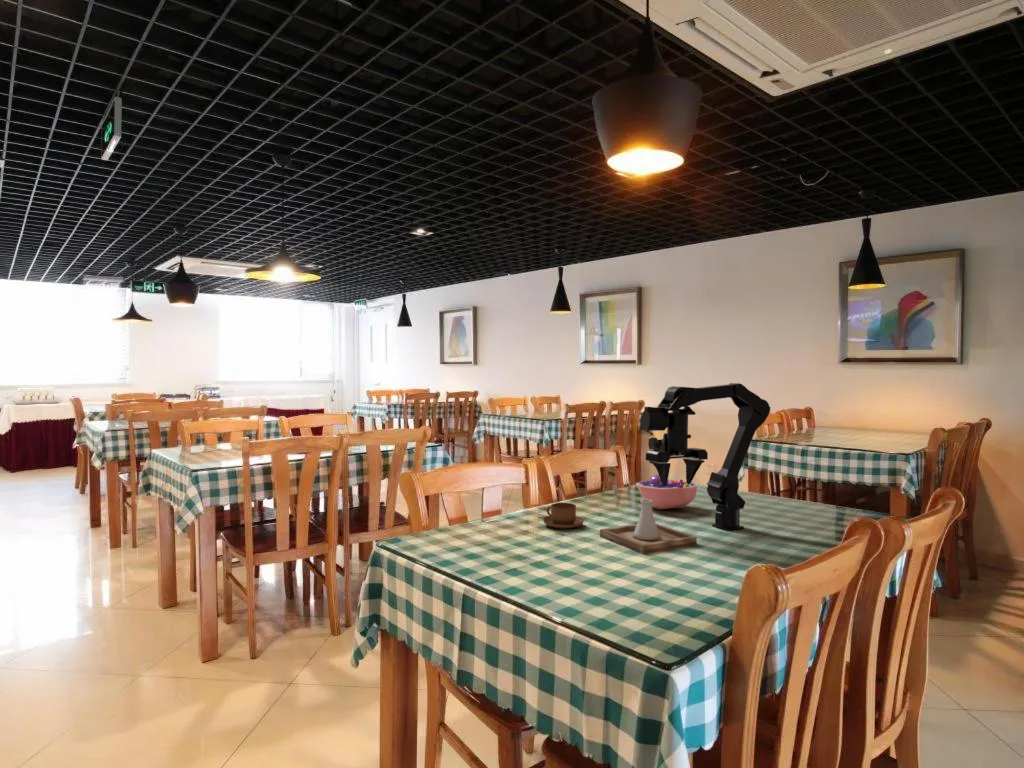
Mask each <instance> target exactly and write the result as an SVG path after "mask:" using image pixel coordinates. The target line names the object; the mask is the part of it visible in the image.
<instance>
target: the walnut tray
mask: <svg viewBox="0 0 1024 768" xmlns="http://www.w3.org/2000/svg"><path fill="white" fill-rule="evenodd" d="M656 525H657V528H658V531H659V533H660V538H659V539H656V540H642V539H637V538H635V537H632V536H633V533H634V531H635V528H636V526H637V523H635V524H627V525H621V526H613V527H608V528H601V529H599V537H600V538H602V539H604V540H606V541H610V542H612V543H615V544H617V545H620V546H623V547H625V548H627V549H629V550H631V551H634V552H637V553H639V554H642V555H644V554H651V553H655V552H662V551H668V550H674V549H678V548H684V547H685V548H686V547H690V546H691V547H692V546H696V545H697V540H698V538H697V536H695V535H692V534H688V533H686V532H683V531H680V530H677V529H674V528H670V527H667V526H664V525H662V524H658V523H656Z"/></svg>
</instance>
